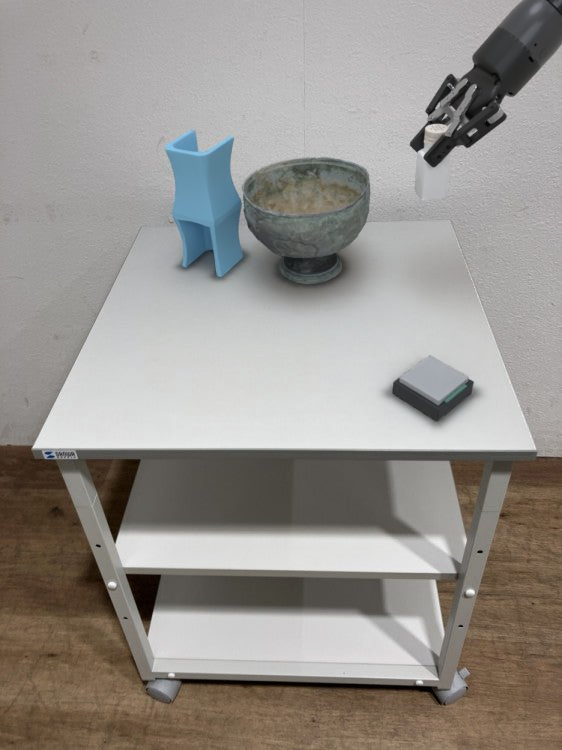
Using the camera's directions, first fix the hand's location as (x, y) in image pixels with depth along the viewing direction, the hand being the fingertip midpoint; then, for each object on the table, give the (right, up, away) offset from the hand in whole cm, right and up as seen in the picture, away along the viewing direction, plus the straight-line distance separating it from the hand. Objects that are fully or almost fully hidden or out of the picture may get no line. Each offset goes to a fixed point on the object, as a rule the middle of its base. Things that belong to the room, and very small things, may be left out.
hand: (421, 155), depth 84 cm
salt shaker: (+2, -4, +4) cm, 7 cm away
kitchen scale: (0, -32, -6) cm, 33 cm away
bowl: (-15, -12, +17) cm, 26 cm away
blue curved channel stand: (-30, -10, +21) cm, 38 cm away
